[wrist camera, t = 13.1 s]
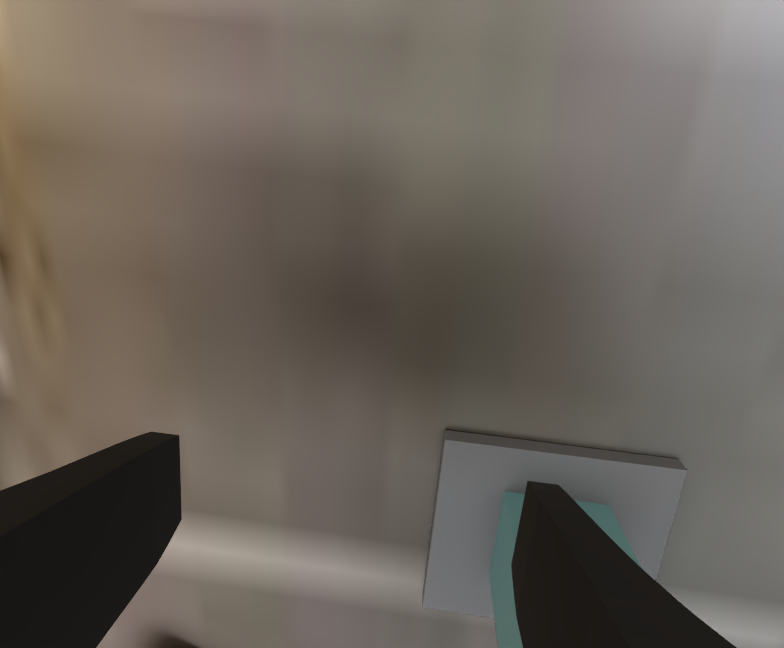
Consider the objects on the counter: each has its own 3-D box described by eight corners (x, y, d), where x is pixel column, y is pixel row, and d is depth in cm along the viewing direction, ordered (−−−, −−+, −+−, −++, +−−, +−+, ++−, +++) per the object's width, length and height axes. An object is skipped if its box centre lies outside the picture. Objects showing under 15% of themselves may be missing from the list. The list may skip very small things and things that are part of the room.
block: (608, 505, 19) (680, 641, 14) (587, 589, 21) (645, 748, 15) (503, 491, 20) (531, 619, 14) (489, 575, 21) (508, 726, 15)
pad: (678, 458, 20) (688, 470, 19) (631, 623, 22) (638, 639, 21) (445, 429, 20) (445, 439, 19) (422, 593, 22) (422, 607, 22)
